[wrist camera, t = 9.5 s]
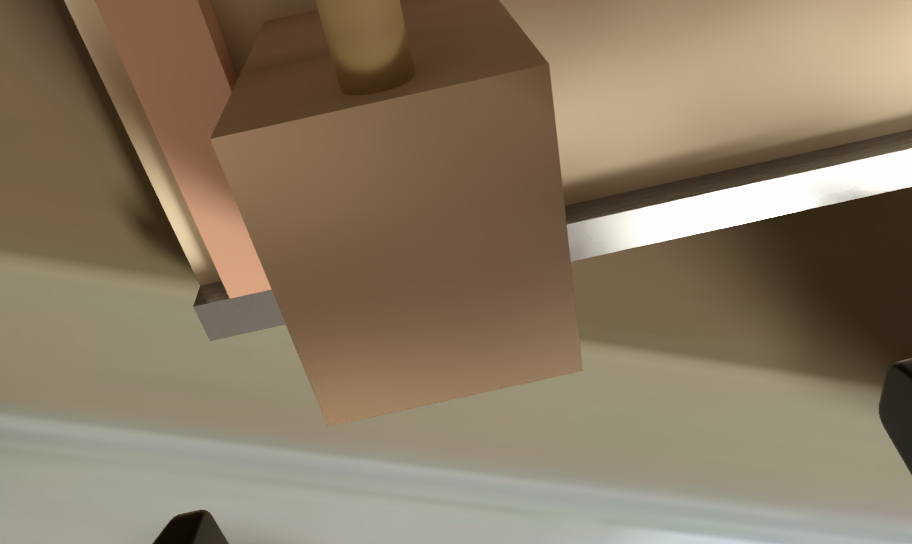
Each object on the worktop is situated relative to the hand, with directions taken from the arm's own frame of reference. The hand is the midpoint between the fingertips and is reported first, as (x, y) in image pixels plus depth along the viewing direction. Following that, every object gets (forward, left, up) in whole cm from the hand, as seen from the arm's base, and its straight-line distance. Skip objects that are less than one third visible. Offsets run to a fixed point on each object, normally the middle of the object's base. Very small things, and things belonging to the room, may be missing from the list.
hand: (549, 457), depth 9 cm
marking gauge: (+3, +1, -11) cm, 11 cm away
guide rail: (-3, -3, -11) cm, 12 cm away
